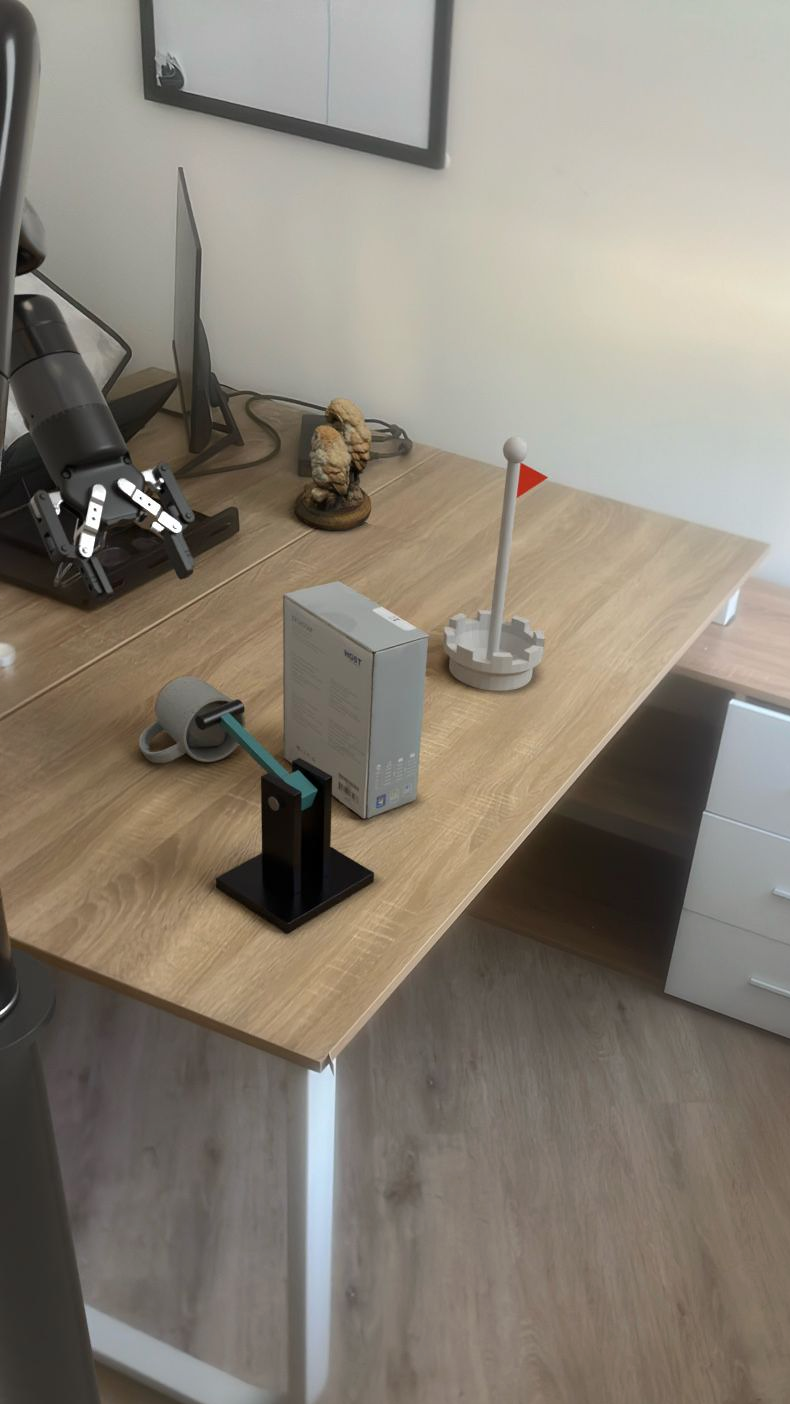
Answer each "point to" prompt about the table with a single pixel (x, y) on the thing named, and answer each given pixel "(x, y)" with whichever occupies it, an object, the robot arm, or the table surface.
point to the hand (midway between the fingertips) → (148, 587)
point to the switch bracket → (295, 856)
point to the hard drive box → (353, 695)
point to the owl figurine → (337, 471)
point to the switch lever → (255, 747)
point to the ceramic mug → (188, 722)
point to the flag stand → (498, 606)
